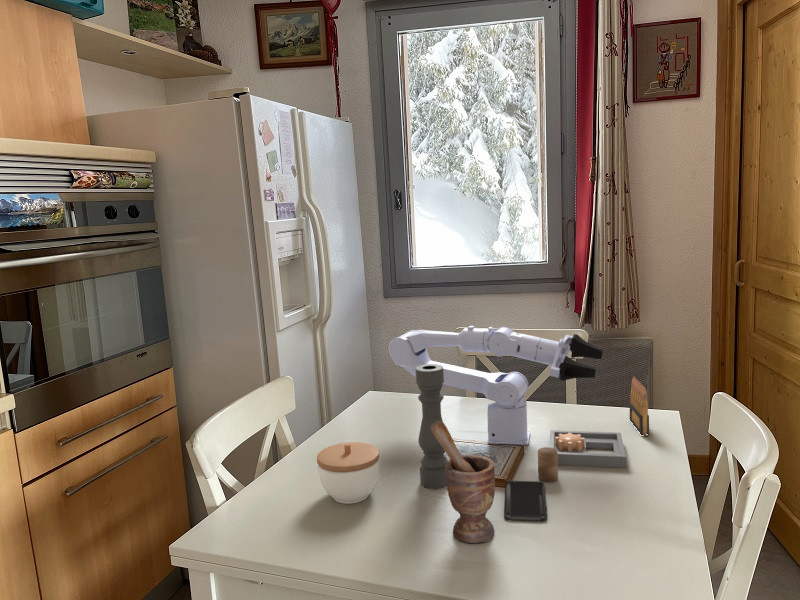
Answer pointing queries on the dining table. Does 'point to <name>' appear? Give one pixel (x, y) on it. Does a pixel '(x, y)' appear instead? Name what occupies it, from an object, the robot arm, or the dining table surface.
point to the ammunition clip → (639, 407)
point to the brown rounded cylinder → (547, 464)
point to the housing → (576, 442)
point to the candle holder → (430, 397)
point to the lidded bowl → (349, 471)
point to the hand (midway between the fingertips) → (598, 363)
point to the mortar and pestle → (468, 488)
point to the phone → (525, 501)
